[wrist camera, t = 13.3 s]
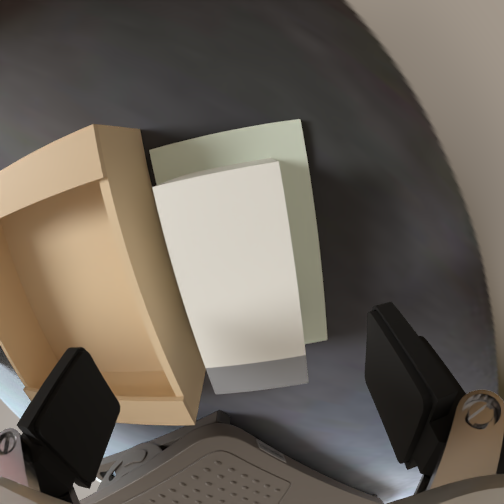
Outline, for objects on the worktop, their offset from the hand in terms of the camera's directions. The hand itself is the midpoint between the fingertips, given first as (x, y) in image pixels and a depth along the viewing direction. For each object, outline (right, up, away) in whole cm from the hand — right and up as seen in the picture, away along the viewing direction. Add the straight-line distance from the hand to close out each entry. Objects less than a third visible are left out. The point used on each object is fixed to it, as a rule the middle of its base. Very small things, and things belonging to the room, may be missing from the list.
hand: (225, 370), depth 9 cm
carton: (-12, +2, +11) cm, 16 cm away
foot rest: (-1, -32, +23) cm, 39 cm away
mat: (+1, +4, +10) cm, 11 cm away
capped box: (0, +4, +10) cm, 10 cm away
